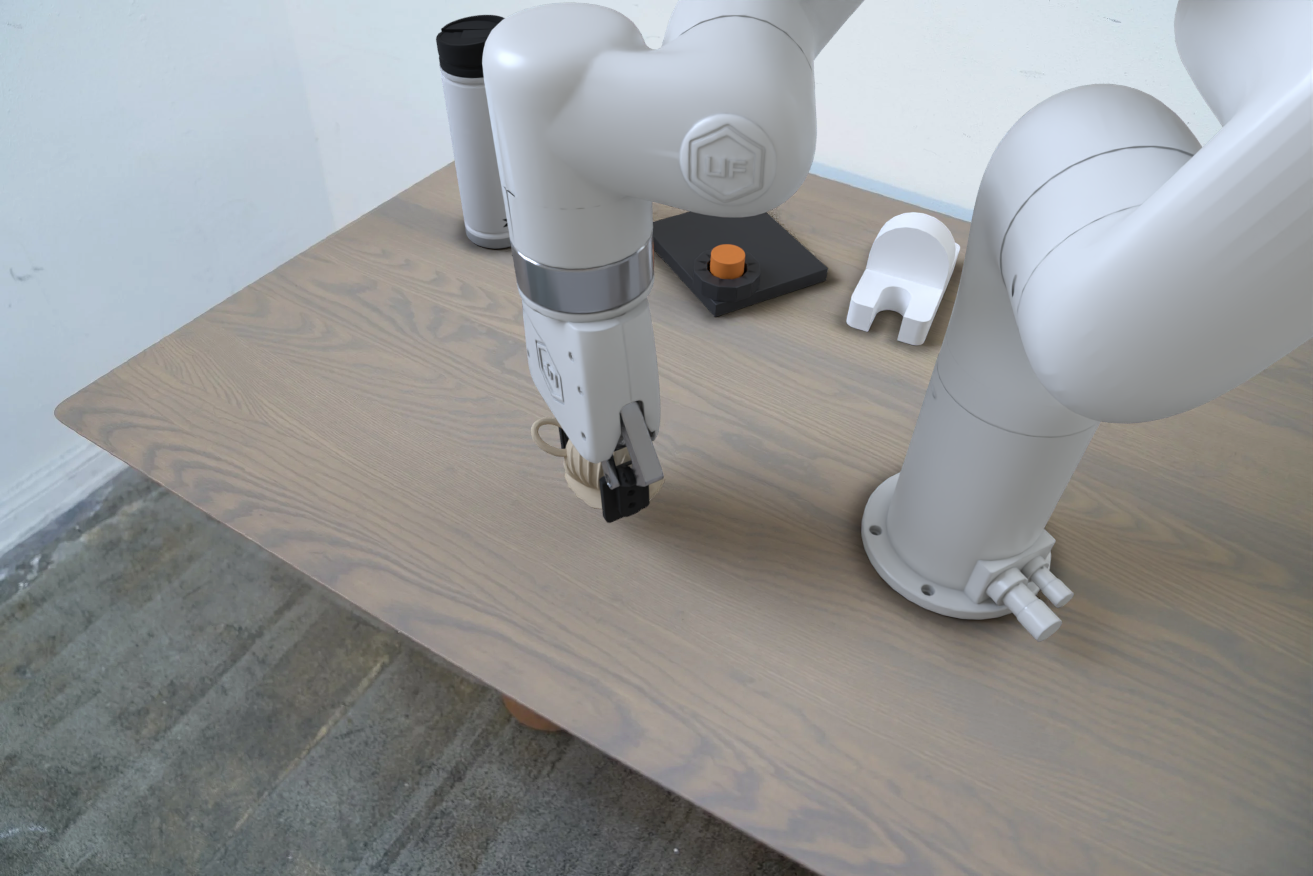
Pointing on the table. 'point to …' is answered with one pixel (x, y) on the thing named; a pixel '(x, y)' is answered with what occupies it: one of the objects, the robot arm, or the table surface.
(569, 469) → the decorative ornament
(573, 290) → the robot arm
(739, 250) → the button
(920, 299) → the slotted bracket
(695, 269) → the black flat block
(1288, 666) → the table surface
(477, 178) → the travel mug
